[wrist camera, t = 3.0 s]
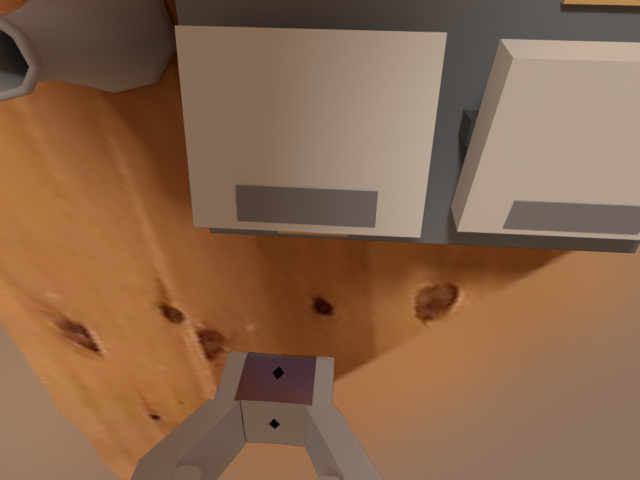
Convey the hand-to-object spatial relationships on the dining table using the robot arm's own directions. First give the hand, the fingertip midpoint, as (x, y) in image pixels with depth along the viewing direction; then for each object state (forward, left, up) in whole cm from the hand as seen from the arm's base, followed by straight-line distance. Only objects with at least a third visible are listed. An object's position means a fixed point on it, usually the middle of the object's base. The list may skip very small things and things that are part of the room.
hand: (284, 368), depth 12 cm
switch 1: (-4, 0, -10) cm, 10 cm away
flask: (-7, -12, -18) cm, 23 cm away
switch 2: (-4, +12, -10) cm, 16 cm away
